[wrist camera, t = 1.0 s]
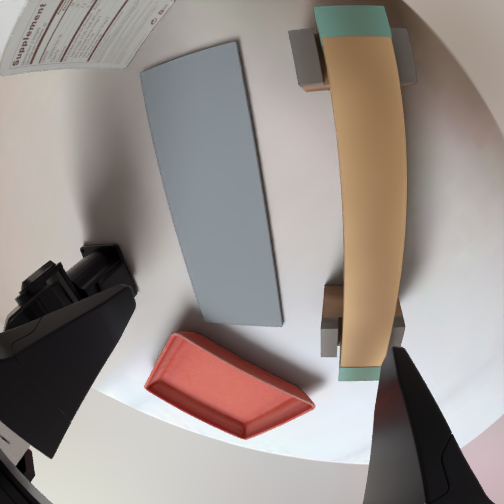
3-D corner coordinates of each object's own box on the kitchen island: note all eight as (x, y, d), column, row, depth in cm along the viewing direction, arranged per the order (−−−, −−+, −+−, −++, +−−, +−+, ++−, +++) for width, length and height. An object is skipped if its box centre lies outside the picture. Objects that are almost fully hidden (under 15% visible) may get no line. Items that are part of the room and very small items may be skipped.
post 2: (325, 312, 24) (320, 356, 20) (324, 285, 23) (320, 328, 18) (390, 311, 22) (397, 355, 18) (394, 283, 21) (405, 326, 16)
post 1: (306, 91, 16) (298, 84, 11) (298, 51, 14) (287, 30, 10) (394, 89, 14) (417, 82, 10) (387, 48, 13) (406, 28, 8)
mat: (206, 319, 28) (204, 322, 28) (142, 73, 17) (139, 73, 17) (282, 324, 26) (282, 327, 25) (237, 42, 15) (235, 41, 15)
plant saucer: (321, 385, 30) (318, 408, 27) (250, 425, 39) (245, 441, 37) (186, 310, 29) (172, 330, 26) (152, 372, 39) (142, 388, 36)
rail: (340, 349, 20) (338, 381, 18) (316, 25, 10) (313, 6, 8) (377, 349, 19) (380, 380, 17) (373, 24, 10) (383, 5, 7)
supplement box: (85, 40, 16) (-29, 45, 6) (128, -23, 13) (17, -50, 2) (126, 72, 18) (-9, 83, 7) (179, 1, 14) (52, -45, 3)
